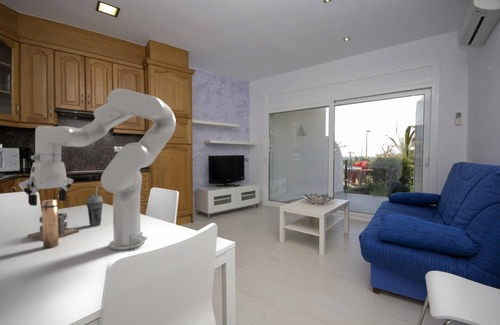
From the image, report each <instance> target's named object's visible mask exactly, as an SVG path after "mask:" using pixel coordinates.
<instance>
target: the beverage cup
mask: <svg viewBox="0 0 500 325" xmlns="http://www.w3.org/2000/svg"><path fill="white" fill-rule="evenodd" d="M95 188H96V189H95V194H92V195H89V197H88V198H87V200H86V203H85V205H86V207H87V215H88V223H89V227H91V228H93V227H99V226H101V225H102V224H101V223H102V214H103V206H104V198H103V197H102V196H101V195H99V194H98V188H99V185H96V187H95Z"/></svg>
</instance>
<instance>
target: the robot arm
mask: <svg viewBox="0 0 500 325" xmlns="http://www.w3.org/2000/svg"><path fill="white" fill-rule="evenodd" d="M106 101H107V103H105V104H103V105H101V106H99V107H97V108H96V109H94V110H93V116H94V119H93V120H92V121H91V122H89V123H87V124H86V125H84V126H82V127H80V128H79V127H72V126H66V125H61V126H49V125H46V126H44V125H39V126H37V127H36V128H35V135H34V136H35V138H34V139H35V143H34V144H35V148H34V150H35V153H34V155H31V156H30V158H31V160H34V161H35V162H33V163H32V166H31V170H30V176H29V178H28V179H26V180H24V181H22V182H19V183H18V186H19V188H20V189H21V191H22V192H23V193H26V195H27V196H28V197H27V198H28V200H27V201H28V204H29V206H33V207H35V206H37V205H38V195H37V194H36V193H37V192H38V191H39V190H49V189H57V188H58V189H59V191H58V201H61V202H65V201H67V192H68V191H69V189H70V187H72V184H73V182H74V179H73V178H70V177H67V171H66V165H65V162H62V147H76V148H77V147H78V148H82V147H87V146H89V145H91V144H93V143H95V142H96V141H99V140H100V139H102V138H103V137H104V136H106V134H108V132H109V131H110V130H111V129H112V128H114V127H115V126H118V125H119V124H121V123H124V122H125V121H127V120H129V119H131V118H133V117H134V116H135V117H139V118H143V119H147V120H150V121H152V122H153V125H152V126H151V127H150V128H149V129H148V130H147V131H146V132H145V134H144V135H143V137H142V138H141V139H140V140H139V141H138V142H130V143H127V144H125V145H124V146H123V147H121V148H120V149H119V151H118V152H117V153H116V154H115V156H114V157H113V158H112V159H111V161H110V162H109V164H108V165H107V166H106V167H105V169H104V171H103V172H102V174H101V177H100V185H101V186H102V188H103V189H104V191H107V192H108V193H112V194H113V200H112V206H113V207H112V208H113V209H112V210H113V211H112V212H113V213H112V214H113V215H112V217H113V219H112V220H113V222H112V223H113V240H112V241H110V242H109V244H108V246H109V249H110V250H115V251H125V250H130V249H135V248H138V247H140V246H142V245H143V244H144V243H145V242H146V240H147V239H148V237H147V236H144V235H143V231H141V190H142V182H143V176H142V173H141V171H140V170H141V169H142V168H147V167H149V166H150V165H152V164H153V163H154V161H155V160H156V158H157V157H158V155H160V153H161V151H162V150H163V149H164V147H165V146H166V144H167V143H168V142H169V141H170V139H171V138H172V137H173V135H174V132H175V130H176V126H177V120H176V117H175V114H174V112H173V110H172V109H171V107H169V105H168V104H167V103H166V102H164V101H163V100H161V98H158V97H156V96H153V95H150V94H146V93H143V92H142V93H141V92H137V91H133V90H131V89H130V90H129V89H125V88H115V89H113V90H111V91H110V92H109V93H108V95H107V100H106ZM28 185H29V186H30V188H29V187H28Z"/></svg>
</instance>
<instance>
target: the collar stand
mask: <svg viewBox="0 0 500 325" xmlns="http://www.w3.org/2000/svg"><path fill="white" fill-rule="evenodd" d="M67 219H68V214H67V213H65V212H58V239H61V238H63V237H64V238H65V237H66V236H67V237H68V236H70V235H74V234H77V233H79V232H80V230H79V229H75V228H70V227H68V222H67V221H66V220H67ZM39 223H41V225H40V226H39V231H37V232H33V233H29V234H27V238H30V237H31V239H36V240H42V241H43V215H42V216H40V217H39Z"/></svg>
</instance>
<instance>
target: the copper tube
mask: <svg viewBox="0 0 500 325" xmlns="http://www.w3.org/2000/svg"><path fill="white" fill-rule="evenodd" d="M58 201H59V199H53V198H52V199H44V200H42V203H41V204H42V205H41V208H42V216H43V223H42V225H43V240H42V248H43V249H47V250H48V249H54V248H57V247H58V246H59V238H58V213H59V207H58V206H59V204H58V203H59V202H58Z"/></svg>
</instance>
